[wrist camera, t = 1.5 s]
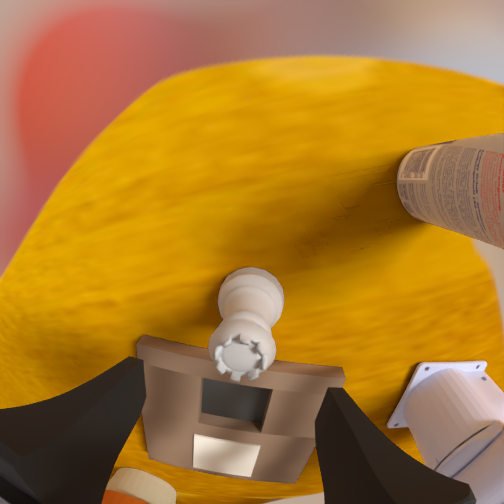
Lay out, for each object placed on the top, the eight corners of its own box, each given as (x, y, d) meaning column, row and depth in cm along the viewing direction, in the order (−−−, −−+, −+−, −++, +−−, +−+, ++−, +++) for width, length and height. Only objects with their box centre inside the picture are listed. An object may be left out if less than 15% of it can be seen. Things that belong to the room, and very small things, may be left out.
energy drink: (463, 198, 17) (585, 223, 6) (415, 235, 18) (536, 293, 7) (433, 134, 17) (557, 110, 5) (381, 169, 18) (505, 163, 6)
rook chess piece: (292, 313, 20) (302, 384, 13) (234, 331, 21) (216, 404, 13) (270, 255, 19) (269, 304, 12) (209, 277, 20) (174, 333, 12)
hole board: (341, 367, 21) (346, 379, 19) (294, 473, 25) (295, 484, 23) (143, 334, 22) (135, 344, 20) (152, 449, 25) (148, 459, 24)
